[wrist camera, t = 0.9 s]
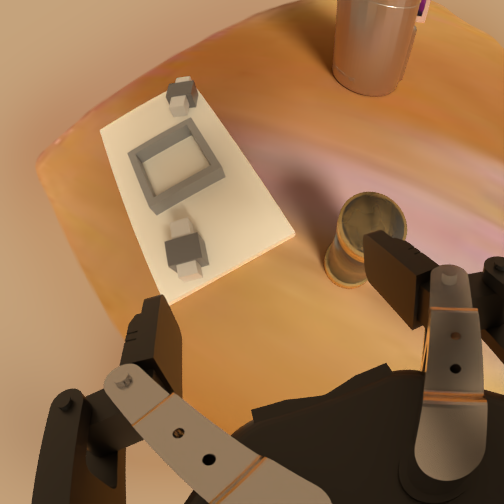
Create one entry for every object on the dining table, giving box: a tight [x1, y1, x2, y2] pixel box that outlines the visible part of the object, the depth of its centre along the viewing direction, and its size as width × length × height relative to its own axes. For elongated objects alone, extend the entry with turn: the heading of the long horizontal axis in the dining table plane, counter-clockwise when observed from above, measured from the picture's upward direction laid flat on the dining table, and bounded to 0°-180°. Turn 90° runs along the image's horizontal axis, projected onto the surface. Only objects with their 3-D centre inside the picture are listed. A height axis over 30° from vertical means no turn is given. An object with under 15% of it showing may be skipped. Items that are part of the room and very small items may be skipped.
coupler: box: [324, 192, 407, 289], centre depth 25 cm, size 5×5×10 cm
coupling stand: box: [100, 76, 295, 306], centre depth 33 cm, size 14×26×4 cm, turn 29°
